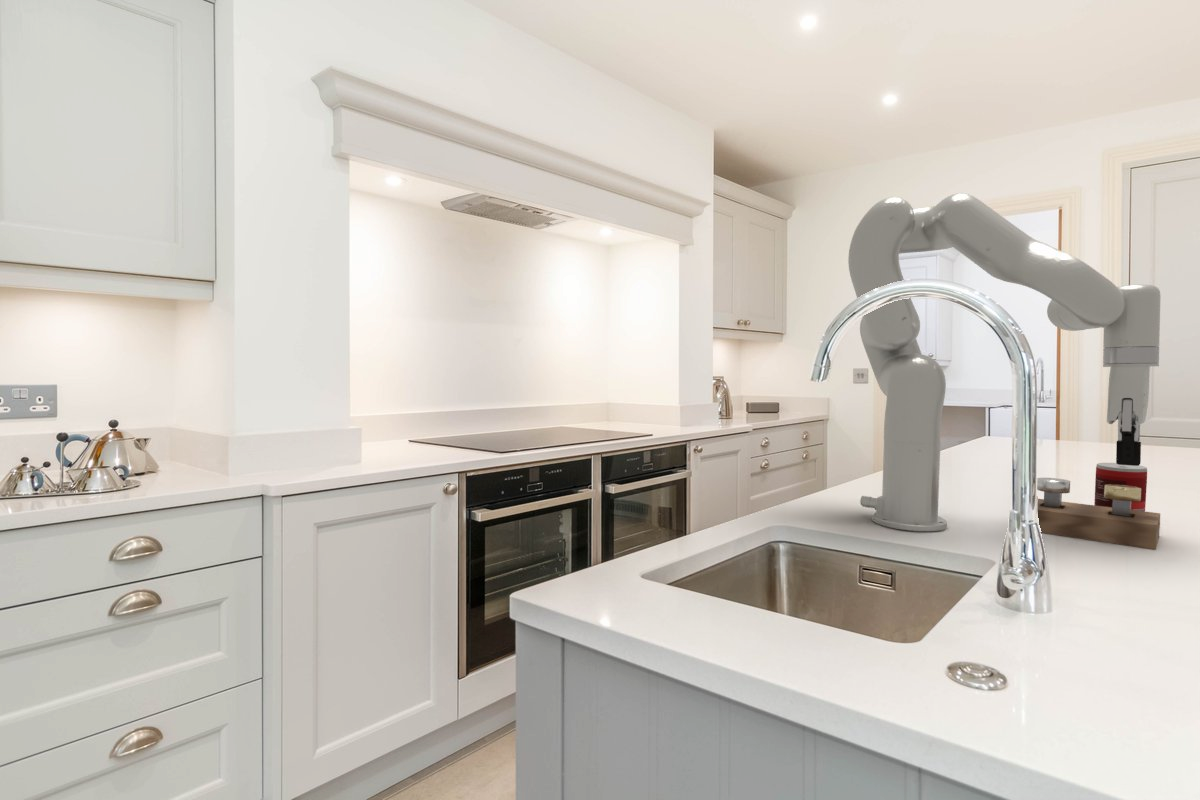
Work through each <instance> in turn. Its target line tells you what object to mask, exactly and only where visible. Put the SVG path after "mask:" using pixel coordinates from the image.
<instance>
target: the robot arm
mask: <svg viewBox="0 0 1200 800" xmlns="http://www.w3.org/2000/svg"><path fill="white" fill-rule="evenodd" d="M951 248H954V249H955V250H956V251H958V252H959V253H960V254H962V255H963V256H964V257H966V258H967V259H969V260H970V261H971V262H973V264H975V265H977V267H979V268H980V269H982V270H983V271H985V272H986V273H987V274H989V276H991V277H993V278H996V279H997V280H1000V281H1003V282H1006V283H1011V284H1016V285H1019V286H1023V287H1027V288H1029V289H1032V290H1034V291H1036V292H1038V293H1041V294H1043V295H1044V296H1045V297H1047V298H1049V299H1050V301H1049V303H1048V305H1047V309H1046V314H1047V318H1048V320H1049V321H1050V322H1051V323H1052V324H1053V326H1055V327H1057V328H1058V329H1060V330H1063V331H1064V330H1065V331H1069V332H1070V331H1071V332H1074V331H1075V332H1077V331H1085V330H1091V329H1092V330H1093V329H1098V328H1099V329H1100V328H1101V329H1103V343H1102V345H1103V347H1102V348H1103V349H1102V351H1103V352H1102V354H1103V355H1102V367H1103V368H1110V369H1109V376H1108V386H1107V387H1108V388H1107V389H1108V390H1107V392H1108V393H1107V410H1106V411H1107V412H1106V423H1107V424H1109V425H1113V424H1114V423H1115V422H1116V421H1117V440H1116V450H1115V451H1116V454H1115V456H1116V457H1115V460H1116V461H1115V463H1117V464H1118V465H1132V466H1139V465H1140V466H1141V459H1142V458H1141V454H1142V453H1141V451H1142V449H1141V448H1142V442H1141V440H1140V435H1141V434H1140V433H1141V425H1142V424H1144V423H1145V422H1146V419H1147V413H1148V406H1149V393H1150V392H1149V391H1150V369H1151V368H1150V367H1159V366H1160V334H1161V333H1160V325H1161V291H1160V289H1159V287H1157V286H1156V285H1153V284H1133V285H1130V284H1129V285H1122V286H1116V284H1114V283H1113V282H1112V281H1111V280H1110V279H1109V278H1107V277H1106V276H1104V275H1103V274H1101V273H1100V272H1099V271H1097V270H1096V269H1095V268H1094V267H1092V266H1090V265H1088V263H1086V262H1084V261H1082V260H1081V259H1079V258H1077V257H1075V256H1073V255H1071V254H1069V253H1067V252H1065V251H1062V250H1061V249H1058V248H1055V247H1053V246H1052V245H1049V244H1047V243H1045V242H1042V241H1040V240H1037V239H1035V238H1033V237H1032V236H1030V235H1029V234H1027V233H1026V232H1024V231H1023V230H1022V229H1020V228H1019V227H1017V226H1016V225H1015V224H1014V223H1012V222H1010V221H1009V220H1008V219H1006V218H1005V217H1004V216H1002V215H1000V214H999V213H998V212H997V211H995V210H994V209H993V208H991V207H990V206H988V205H987V204H986V203H984V202H983V201H981V199H978V198H977V197H975V196H974V195H971V194H969V193H964V192H957V193H954V194H950V195H949V196H946V197H945V198H944V199H942V200H941V201H939V202H938V203H937V204H936V205H935V206H929V207H928V206H927V207H920V208H913V206H912V205H911V204H910V203H909V202H908V201H907V200H906V199H904V198H901V197H898V196H897V197H896V196H890V197H887V198H884V199H882V200H880V201H878V202H876V203H875V204H873V205H872V207H870V209H868V211H867V212H866V213H865V214H864V215H863V217H862V218H861V220H860V221H859V223H858V225H857V226H856V228H855V230H854V232H853V234H852V237H851V242H850V244H849V248H848V259H847V261H848V263H847V264H848V270H849V276H850V280H851V283H852V286H853V287H852V288H853V290H854V292H855V295H856V299H857V298H858V297H860V296H861V295H863V294H865V293H867V292H869V291H871V290H873V289H875V288H878V287H881V286H884V285H887V284H890V283H893V282H897V281H902V280H904V281H905V279H904V276H903V273H902V270H901V266H900V259H899V257H900V256H899V255H900V254H901V255H902V254H911V253H912V254H913V253H923V252H926V253H927V252H932V251H940V250H948V249H951ZM920 331H921V321H920V317H919V315H918V312H917V309H916V308H915V305H914V302H913V300H912V298H911V297H910V298H909V299H902V300H898V301H894V302H892V303H889V304H886V305H884V306H882V307H880V308H878V309H876V310H874V311H872V312H870V313H868V314H866V315H864V316H863V315H862V318H861V320H860V324H859V333H860V334H859V335H860V339H861V342H862V345H863V347H864V350H865V353H866V356H867V358H868V361H869V363H870V367H871V369H872V372H873V374H874V378H875V379H876V381H877V384H878V386H879V389H880V390H881V392H882V393H883V394H884V395H885V396H886V401H885V412H884V424H883V456H882V457H883V459H882V460H883V461H882V462H883V463H882V464H883V465H882V489H881V490H882V491H881V495H880V496H877V497H872V496H869V495H868V496H867V495H861V497H860V500H859V501H860V502H859V504H860V505H861V506H862V508H871V509H873V510H875V511H876V512H874V513H872V521H873V522H874V523H876V524H878V525H880V526H883V527H887V528H891V529H895V530H903V531H912V532H913V531H914V532H937V531H938V532H939V531H943V530H945V529H947V528H948V521H947V520H946V519H944V518H943V517H941V516H938V515H939V492H940V465H941V463H940V462H941V436H942V434H941V432H942V430H941V429H942V419H943V418H942V417H943V408H944V402H945V397H946V388H947V386H946V385H947V382H946V381H947V380H946V376H945V372H944V370H943V367H941V365H940V364H939V362H937V360H935V359H933V358H932V357H931V356H928V355H926V354H922V351H921V348H920V345H919V343H918V340H917V337H918V336H919V334H920Z"/></svg>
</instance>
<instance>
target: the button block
mask: <svg viewBox="0 0 1200 800" xmlns="http://www.w3.org/2000/svg"><path fill="white" fill-rule="evenodd" d="M1037 499H1038V518H1039V525H1040V528H1041V531H1042V534H1049V535H1055V536H1062V537H1068V538H1075V539H1080V540H1081V539H1083V540H1089V541H1095V542H1102V543H1109V544H1117V545H1122V546H1123V545H1124V546H1129V547H1136V548H1141V549H1142V548H1143V549H1150V550H1156V549H1157V546H1158V542H1159V538H1160V528H1161V527H1160V526H1161V513H1160V512H1153V511H1146V510H1145V511H1137V510H1131V517H1124V516H1116V515H1112V507H1103V506H1095V505H1094V504H1087V503H1085V504H1084V503H1079V502H1078V503H1076V502H1070V501H1069V502H1068V501H1062V503H1061V509H1060V508H1052V507H1044V498H1037Z"/></svg>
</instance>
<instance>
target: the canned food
mask: <svg viewBox="0 0 1200 800" xmlns="http://www.w3.org/2000/svg"><path fill="white" fill-rule="evenodd" d="M1094 483H1095V484H1094V485H1095V486H1094V503H1093V505H1095V506H1103V507H1112V504H1113V499H1109V498H1105V497H1104V489H1105V485H1108V484H1115V485H1127V486H1134V487H1139V488H1141V501H1131V510H1137V511H1145V512H1146V504H1147V503H1146V501H1147V486H1148V485H1147V484H1148V467H1146V466H1144V465H1141V464H1140V465H1139V466H1132V465H1118V464H1117V463H1116V462H1098V463H1096V467H1095V482H1094Z"/></svg>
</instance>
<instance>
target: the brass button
mask: <svg viewBox="0 0 1200 800" xmlns="http://www.w3.org/2000/svg"><path fill="white" fill-rule="evenodd" d="M1104 497H1105V498H1109V499H1113V504H1112V515H1116V516H1124V517H1131V501H1141V488H1139V487H1134V486H1127V485H1115V484H1108V485H1105V489H1104Z"/></svg>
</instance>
